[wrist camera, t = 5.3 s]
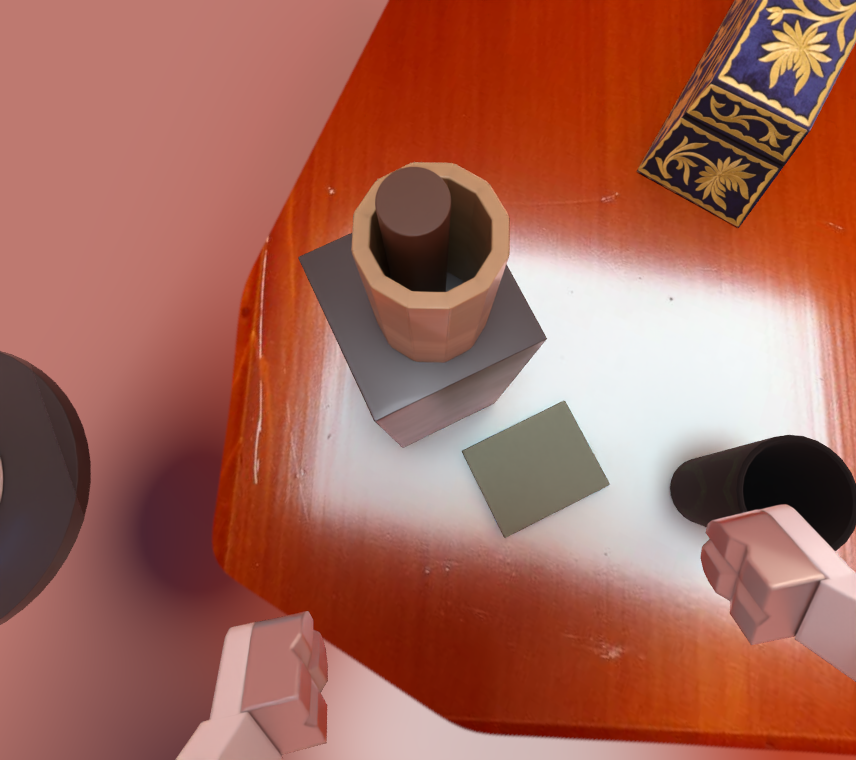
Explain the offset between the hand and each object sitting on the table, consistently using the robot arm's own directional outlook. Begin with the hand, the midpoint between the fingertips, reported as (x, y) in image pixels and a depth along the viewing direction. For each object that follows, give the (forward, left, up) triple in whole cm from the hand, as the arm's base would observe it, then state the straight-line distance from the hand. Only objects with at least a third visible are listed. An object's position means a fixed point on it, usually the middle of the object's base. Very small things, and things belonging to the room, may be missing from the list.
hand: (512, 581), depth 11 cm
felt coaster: (+8, -1, -35) cm, 36 cm away
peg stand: (+3, +10, -35) cm, 37 cm away
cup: (+20, -9, -35) cm, 41 cm away
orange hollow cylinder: (+3, +10, -13) cm, 16 cm away
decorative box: (+45, +23, -35) cm, 62 cm away
